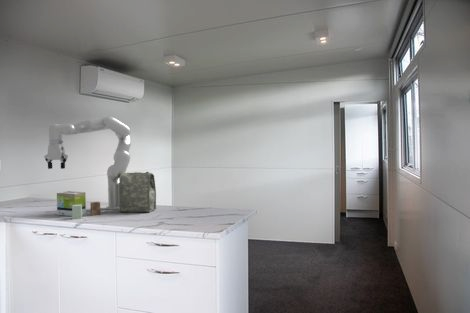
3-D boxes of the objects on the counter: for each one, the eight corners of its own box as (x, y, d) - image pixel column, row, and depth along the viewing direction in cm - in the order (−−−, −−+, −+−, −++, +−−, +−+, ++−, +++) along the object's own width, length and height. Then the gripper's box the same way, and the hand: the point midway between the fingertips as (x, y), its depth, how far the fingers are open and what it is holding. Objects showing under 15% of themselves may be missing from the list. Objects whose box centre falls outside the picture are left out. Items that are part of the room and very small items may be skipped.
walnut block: (98, 213, 226) (98, 201, 225) (100, 214, 221) (100, 202, 221) (90, 214, 223) (90, 202, 223) (92, 215, 219) (92, 203, 219)
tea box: (56, 215, 221) (56, 192, 220) (68, 212, 230) (68, 191, 230) (74, 216, 216) (74, 193, 216) (86, 213, 225) (86, 191, 225)
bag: (157, 208, 241) (157, 170, 241) (149, 213, 225) (149, 172, 225) (127, 208, 244) (126, 170, 243) (117, 212, 228) (116, 172, 227)
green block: (82, 217, 215) (81, 204, 214) (81, 218, 210) (80, 205, 210) (73, 217, 213) (73, 204, 213) (72, 219, 208) (72, 206, 208)
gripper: (71, 142, 225) (71, 168, 226) (48, 143, 229) (49, 168, 229) (63, 142, 218) (63, 168, 218) (40, 142, 222) (40, 169, 222)
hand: (56, 168), depth 224 cm, fingers open, 9 cm apart
